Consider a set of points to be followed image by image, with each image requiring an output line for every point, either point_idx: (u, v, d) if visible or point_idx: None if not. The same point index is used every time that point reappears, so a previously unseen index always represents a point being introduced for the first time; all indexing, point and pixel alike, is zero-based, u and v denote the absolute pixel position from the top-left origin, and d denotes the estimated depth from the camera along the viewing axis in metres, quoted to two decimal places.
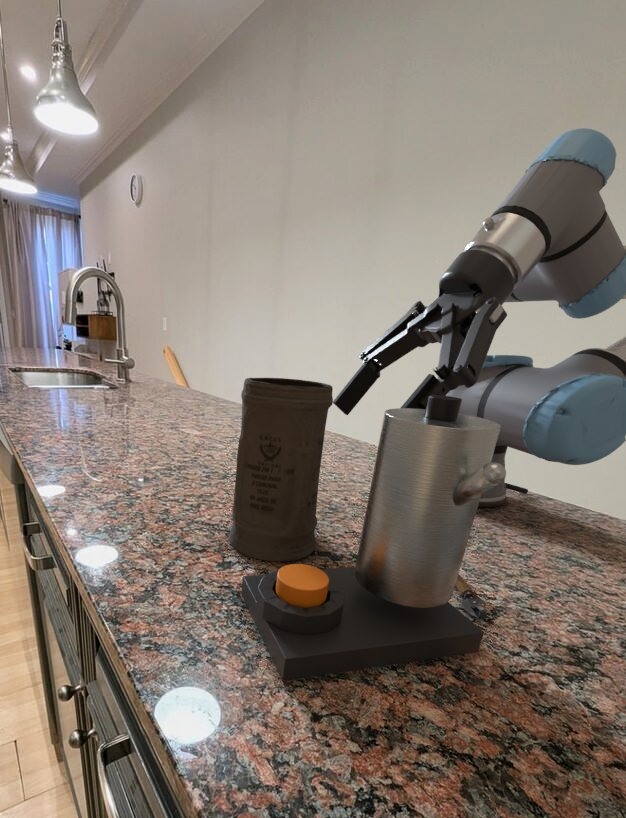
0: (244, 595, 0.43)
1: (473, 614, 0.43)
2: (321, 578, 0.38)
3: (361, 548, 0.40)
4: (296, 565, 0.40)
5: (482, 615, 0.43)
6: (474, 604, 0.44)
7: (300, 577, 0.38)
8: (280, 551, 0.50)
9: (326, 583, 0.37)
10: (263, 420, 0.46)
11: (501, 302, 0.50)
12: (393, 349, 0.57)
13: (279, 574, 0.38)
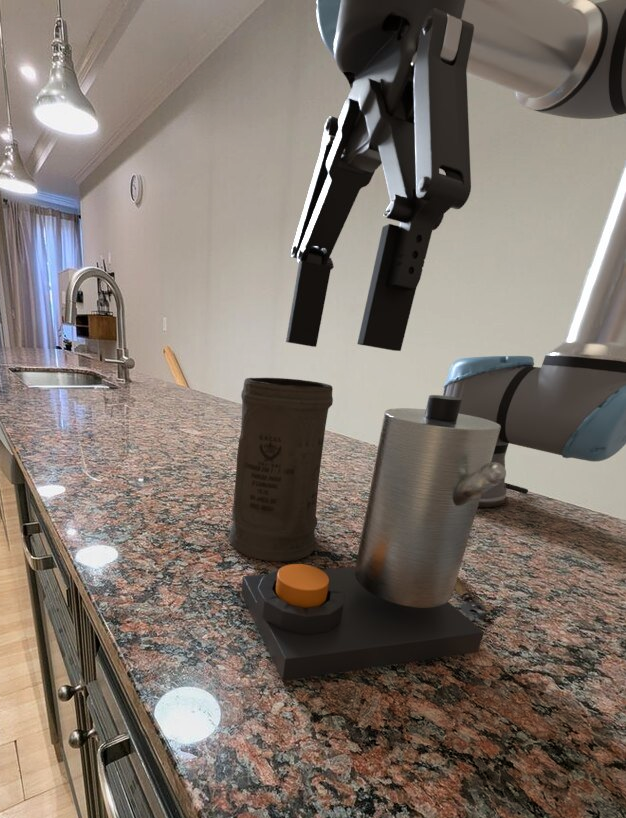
0: (244, 595, 0.43)
1: (472, 617, 0.43)
2: (321, 578, 0.38)
3: (361, 548, 0.40)
4: (296, 565, 0.40)
5: (481, 618, 0.43)
6: (472, 607, 0.45)
7: (300, 577, 0.38)
8: (280, 551, 0.50)
9: (326, 583, 0.37)
10: (263, 419, 0.46)
11: (456, 15, 0.26)
12: (327, 216, 0.36)
13: (279, 574, 0.38)
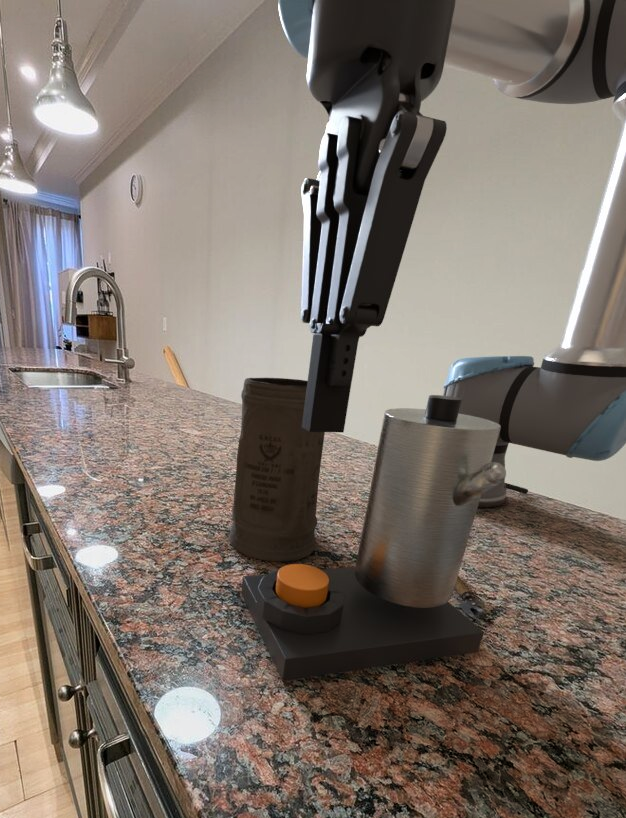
0: (244, 595, 0.43)
1: (472, 616, 0.43)
2: (321, 578, 0.38)
3: (361, 548, 0.40)
4: (296, 565, 0.40)
5: (481, 617, 0.43)
6: (473, 605, 0.45)
7: (300, 577, 0.38)
8: (280, 551, 0.50)
9: (326, 583, 0.37)
10: (263, 420, 0.46)
11: (443, 38, 0.23)
12: None
13: (279, 574, 0.38)
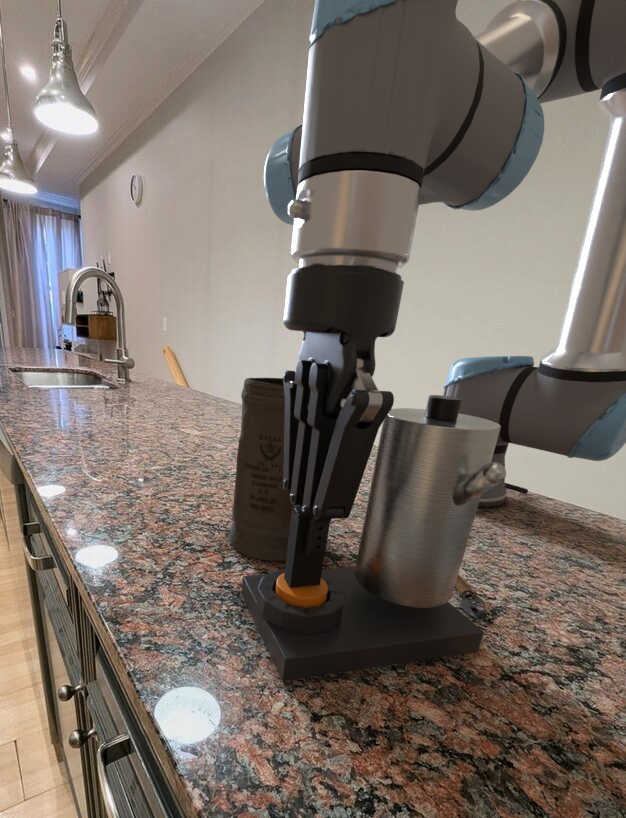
0: (244, 595, 0.43)
1: (472, 614, 0.43)
2: (320, 586, 0.38)
3: (361, 548, 0.40)
4: None
5: (481, 615, 0.43)
6: (473, 604, 0.45)
7: None
8: (280, 551, 0.50)
9: (325, 591, 0.37)
10: (263, 420, 0.46)
11: (393, 314, 0.28)
12: None
13: (278, 581, 0.38)
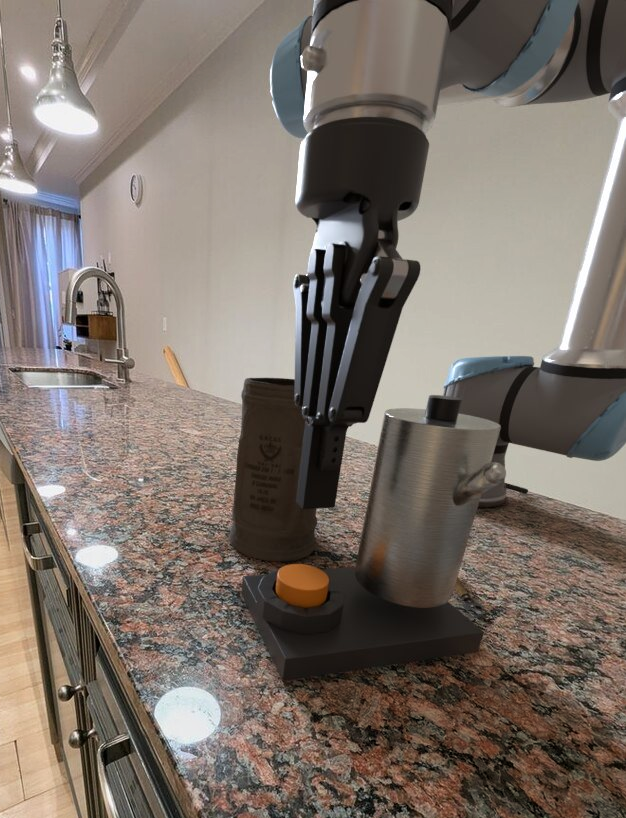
0: (244, 595, 0.43)
1: None
2: (321, 578, 0.38)
3: (361, 548, 0.40)
4: (296, 565, 0.40)
5: None
6: (471, 608, 0.45)
7: (300, 577, 0.38)
8: (280, 551, 0.50)
9: (326, 583, 0.37)
10: (263, 420, 0.46)
11: (418, 179, 0.25)
12: None
13: (279, 574, 0.38)
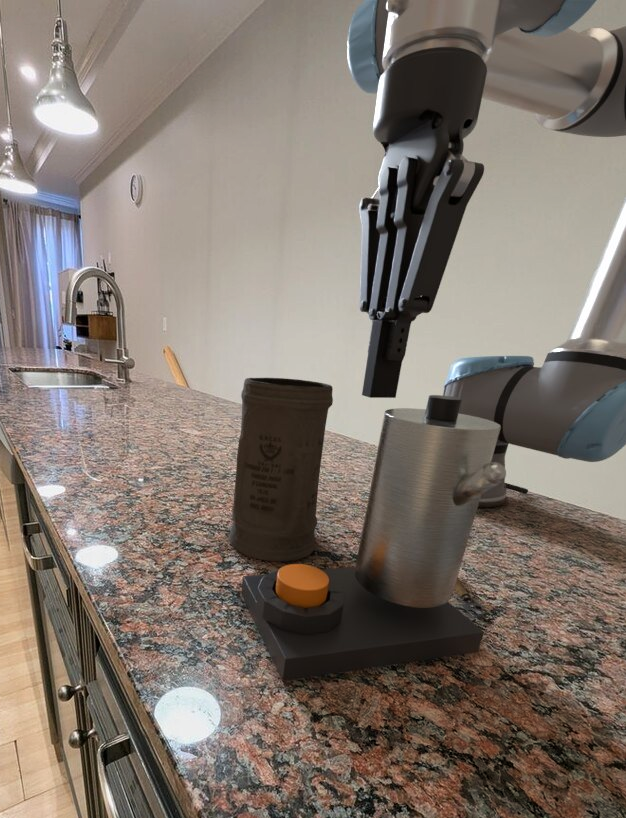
0: (244, 595, 0.43)
1: None
2: (321, 578, 0.38)
3: (361, 548, 0.40)
4: (296, 565, 0.40)
5: None
6: (471, 608, 0.45)
7: (300, 577, 0.38)
8: (280, 551, 0.50)
9: (326, 583, 0.37)
10: (263, 420, 0.46)
11: (478, 101, 0.32)
12: (391, 266, 0.38)
13: (279, 574, 0.38)
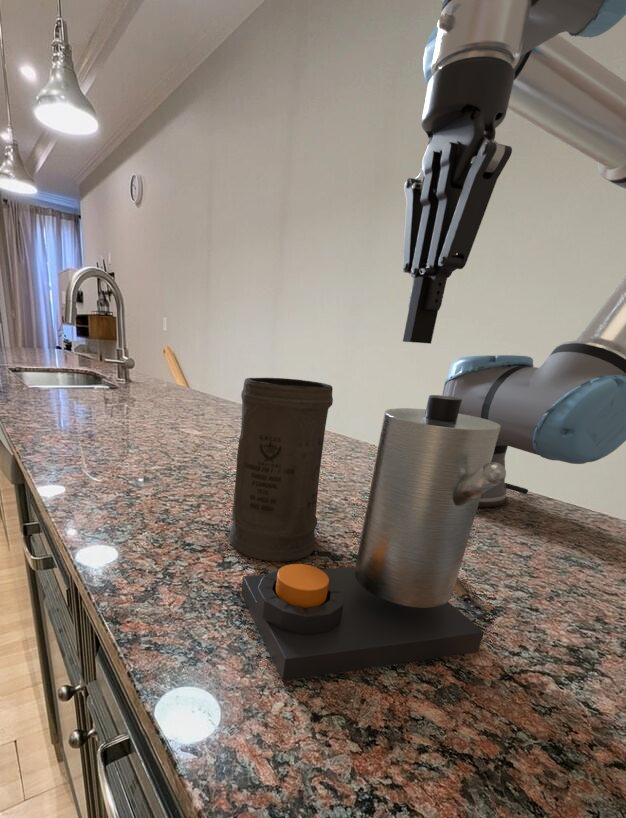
0: (244, 595, 0.43)
1: None
2: (321, 578, 0.38)
3: (361, 548, 0.40)
4: (296, 565, 0.40)
5: None
6: (471, 608, 0.45)
7: (300, 577, 0.38)
8: (280, 551, 0.50)
9: (326, 583, 0.37)
10: (263, 419, 0.46)
11: (507, 98, 0.41)
12: (431, 232, 0.47)
13: (279, 574, 0.38)
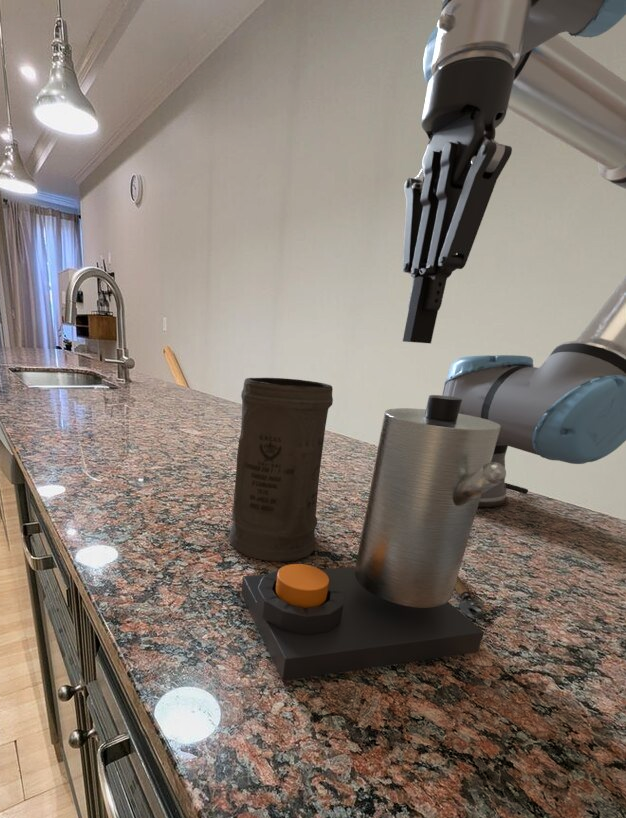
0: (244, 595, 0.43)
1: (470, 616, 0.43)
2: (321, 578, 0.38)
3: (361, 548, 0.40)
4: (296, 565, 0.40)
5: (479, 617, 0.43)
6: (471, 605, 0.45)
7: (300, 577, 0.38)
8: (280, 551, 0.50)
9: (326, 583, 0.37)
10: (263, 419, 0.46)
11: (507, 98, 0.41)
12: (431, 232, 0.47)
13: (279, 574, 0.38)
